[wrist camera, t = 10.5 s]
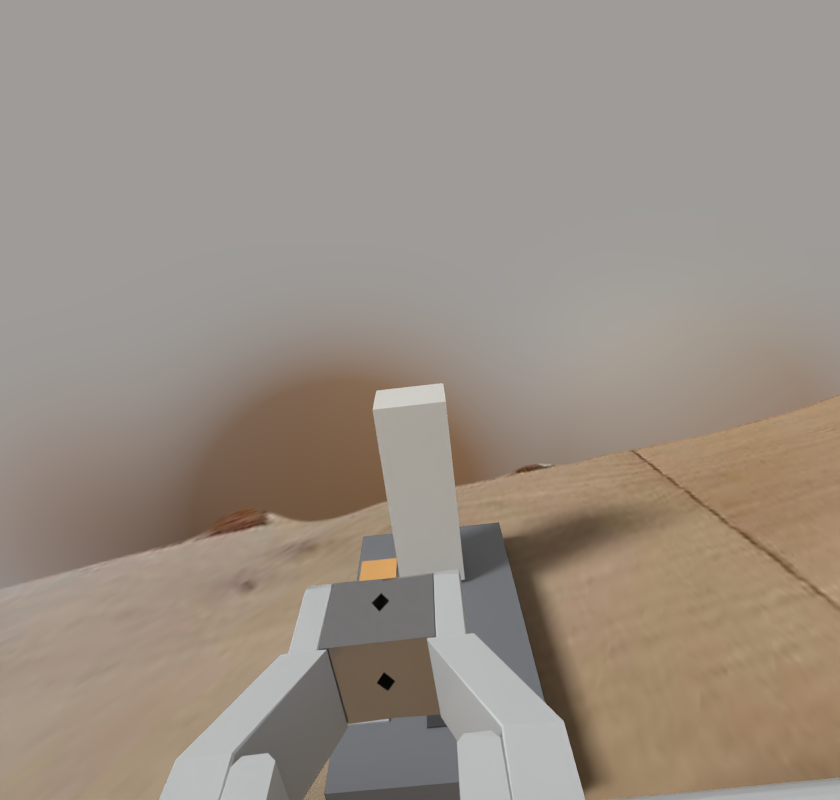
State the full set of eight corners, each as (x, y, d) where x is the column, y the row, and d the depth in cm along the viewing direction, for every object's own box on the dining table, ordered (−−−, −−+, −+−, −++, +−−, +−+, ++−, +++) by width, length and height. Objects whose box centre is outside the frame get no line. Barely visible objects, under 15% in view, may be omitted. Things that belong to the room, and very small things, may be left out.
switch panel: (564, 804, 23) (562, 771, 22) (332, 824, 23) (323, 792, 22) (500, 545, 39) (498, 521, 39) (367, 558, 40) (363, 535, 39)
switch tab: (464, 579, 33) (445, 401, 29) (401, 585, 33) (372, 409, 29) (461, 549, 36) (442, 383, 32) (402, 555, 36) (376, 390, 32)
